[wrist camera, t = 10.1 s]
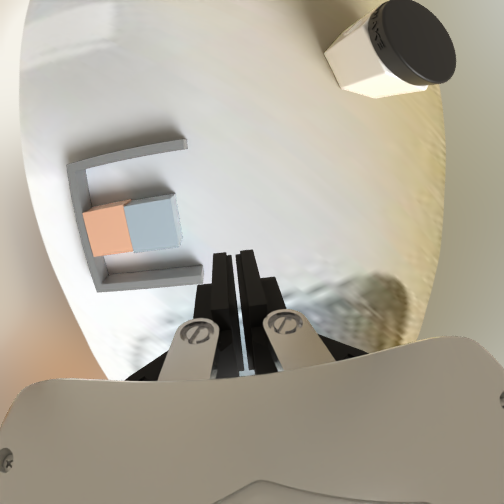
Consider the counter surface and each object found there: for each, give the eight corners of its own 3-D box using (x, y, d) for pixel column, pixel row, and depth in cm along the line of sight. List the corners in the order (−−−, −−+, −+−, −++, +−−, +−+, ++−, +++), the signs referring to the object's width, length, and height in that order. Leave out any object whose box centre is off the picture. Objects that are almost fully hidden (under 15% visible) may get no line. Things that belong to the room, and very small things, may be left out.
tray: (77, 162, 25) (66, 164, 22) (186, 139, 25) (183, 139, 23) (104, 282, 30) (97, 292, 28) (203, 273, 31) (202, 283, 29)
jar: (350, 21, 21) (405, -18, 10) (399, 66, 24) (466, 50, 13) (310, 65, 23) (362, 28, 12) (366, 112, 26) (436, 106, 15)
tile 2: (93, 206, 27) (82, 213, 24) (131, 198, 27) (122, 204, 25) (103, 246, 29) (93, 256, 26) (140, 241, 29) (133, 251, 27)
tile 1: (132, 200, 27) (123, 206, 25) (175, 192, 28) (170, 198, 25) (141, 242, 29) (134, 253, 27) (183, 237, 30) (179, 247, 27)
